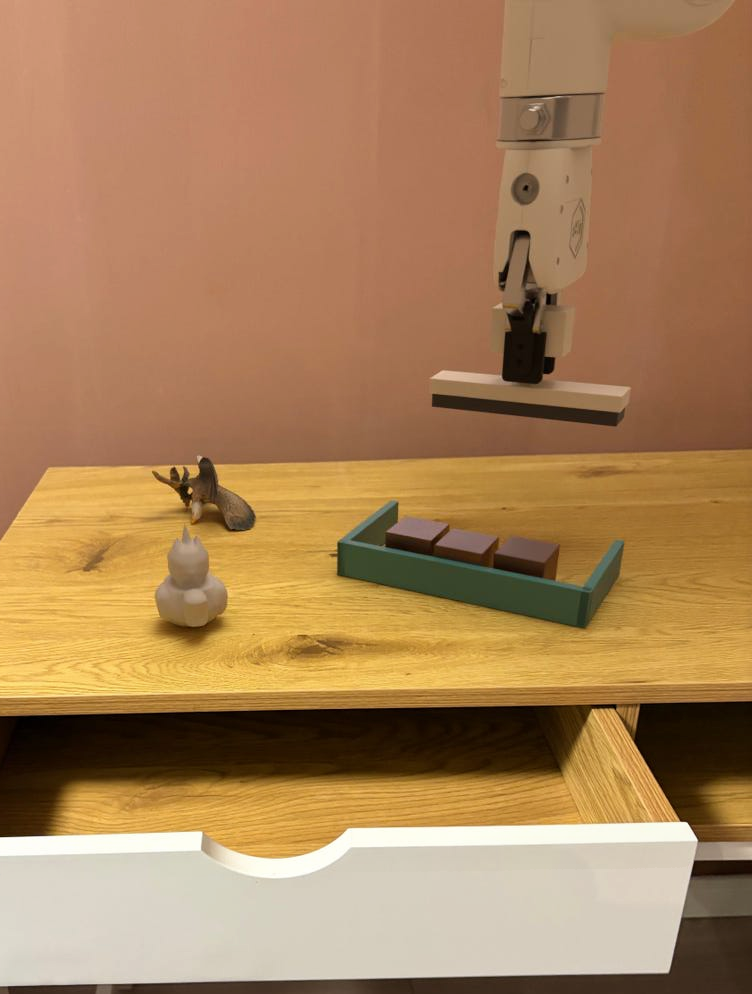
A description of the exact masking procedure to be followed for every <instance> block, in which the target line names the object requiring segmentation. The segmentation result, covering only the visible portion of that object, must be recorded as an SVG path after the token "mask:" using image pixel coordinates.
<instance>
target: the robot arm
mask: <svg viewBox="0 0 752 994" xmlns="http://www.w3.org/2000/svg"><path fill="white" fill-rule="evenodd" d="M735 1H736V0H504V10H503V12H504V14H503V30H502V44H501V61H500V80H499V94H498V95H499V98H498V107H497V109H498V110H497V124H496V125H497V126H496V140H495V149H496V150H505V152H504V158H503V164H502V171H501V172H502V173H501V178H500V188H499V195H498V197H499V198H498V205H497V213H496V214H497V215H496V223H495V235H494V245H493V247H494V249H493V271H492V272H493V274H492V275H493V284H494V286H495V288H496V289H497V290H499V291H500V292H503V296H502V301H501V303H502V307H503V309H504V310H505V311H506V318H505V340H504V353H502V354H503V355H502V368H501V369H502V370H501V376H502V379H503V380H504V381H506V382H517V383H528V384H538V383H540V382H541V381H542V379H544V375H551V374H552V373H554V371H555V366H556V359H557V357H545V347H546V336H547V332H542V330H543V323H544V314H545V305H560V306H562V295H563V293H562V292H563V290H564V289H566V288H567V287H569V286H570V285H572V284H574V283H576V282H577V281H579V279H581V278H582V277H583V276H584V274H585V272H586V270H587V265H588V253H589V252H588V251H589V238H590V222H591V209H592V208H591V206H592V191H593V190H592V189H593V147H596V146H601V145H602V138H603V137H602V135H603V129H604V127H603V126H604V118H605V109H606V99H607V89H608V81H609V73H610V64H611V63H610V61H611V54H612V53H611V52H612V45H620V44H627V43H633V42H634V43H637V42H644V41H660V40H669V39H676V38H681V37H685V36H689V35H691V34H695V33H698V32H700V31H701V30H703V29H705V28H708V26H710V25H712V24H713V23H715V22H716V21H718V20H719V19H720V18H721V17H722V16H723V15H725V13H726V12H727V11H728V10H729V9H730V8H731V7H732V5H733V4H734V2H735ZM533 304H535V307H534V306H533Z"/></svg>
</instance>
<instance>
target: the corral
mask: <svg viewBox="0 0 752 994" xmlns="http://www.w3.org/2000/svg"><path fill="white" fill-rule="evenodd" d="M399 503H400V502H399V501H398V500H397V501H396V500H389V501H388V502H387V503H386V504H384V505H382V507H380V508H379V509H377V510H376V511H375V512H374V513H373V514H371V515H369V516H368V518H366V519H365V520H363V521H362V522H361V523H359V524H358V525H357V526H355V527H354V528H353V529H352V530H350V531H349V532H348V533H347V534H345V535H344V536H343V537H341V538H340V539H339V540H338V541H337V547H336V557H337V558H336V575H337V576H344V577H348V578H353V579H356V580H360V581H361V580H362V581H366V582H371V583H375V584H379V585H385V586H388V587H394V588H398V589H402V590H408V591H411V592H417V593H421V594H426V595H430V596H436V597H439V598H444V599H449V600H454V601H457V602H463V603H468V604H472V605H477V606H480V607H481V606H482V607H486V608H490V609H491V608H492V609H494V610H499V611H504V612H509V613H513V614H518V615H522V616H526V617H532V618H537V619H540V620H546V621H550V622H554V623H560V624H563V625H569V626H573V627H577V628H583V629H587V626H588V625H589V623H590V622H591V620H592V619H593V617H594V615H595V613H596V612H597V610H598V609H599V607H601V604H602V602H603V601H604V600H605V598H606V596H607V594H608V593H609V591H610V590H611V588H612V587H613V585H614V583H615V581H616V580H617V579H618V576H620V573H621V567H622V561H623V555H624V548H625V543H626V542H625V540H621V539H614V540H613V542H612V543H611V544H610V546H609V548H608V549H607V551H606V552H605V554H604V555H603V557H602V558H601V559H600V561H599V563H597V565H596V567H595V568H594V570H593V571H592V573H591V574H590V576H589V577H588V578H587V580H586V582H585V583H584V584H583V585H579V584H573V583H567V582H562V581H558V580H556V581H553V580H548V579H543V578H538V577H533V576H528V575H523V574H518V573H513V572H508V571H503V570H498V569H493V568H488V567H483V566H478V565H472V564H467V563H462V562H457V561H452V560H447V559H442V558H437V557H432V556H427V555H422V554H417V553H412V552H407V551H402V550H397V549H392V548H387V547H385V546H383V545H385V540H386V531H388V530H389V529H390V528H391V527H393V526H394V525H395V524H396V523H398V522H399V505H400V504H399Z"/></svg>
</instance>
